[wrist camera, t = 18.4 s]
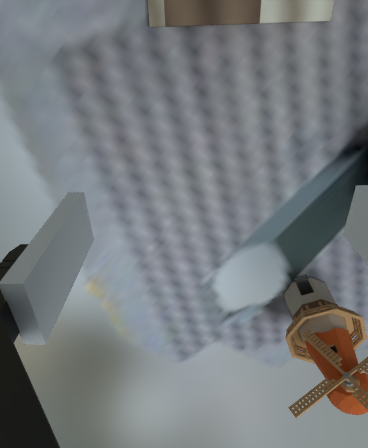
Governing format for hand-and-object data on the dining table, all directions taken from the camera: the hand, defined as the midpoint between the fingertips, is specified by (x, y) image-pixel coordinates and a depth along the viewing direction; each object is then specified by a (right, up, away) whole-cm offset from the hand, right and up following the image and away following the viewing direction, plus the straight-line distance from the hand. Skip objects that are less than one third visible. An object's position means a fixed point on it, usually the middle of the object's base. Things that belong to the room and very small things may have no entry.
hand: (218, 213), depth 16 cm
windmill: (+24, -14, +48) cm, 56 cm away
